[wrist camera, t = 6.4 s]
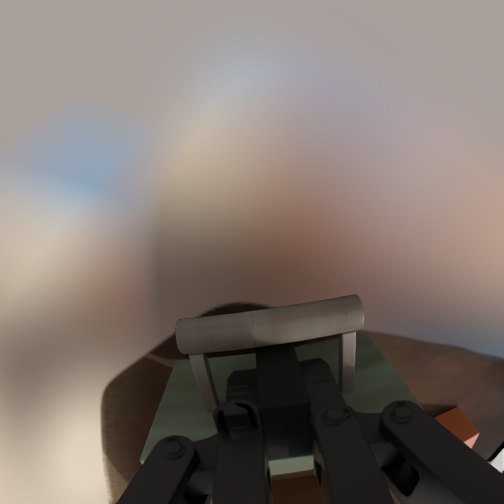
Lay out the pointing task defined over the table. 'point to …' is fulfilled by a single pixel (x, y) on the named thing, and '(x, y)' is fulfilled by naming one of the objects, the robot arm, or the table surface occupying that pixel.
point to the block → (459, 425)
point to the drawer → (250, 336)
